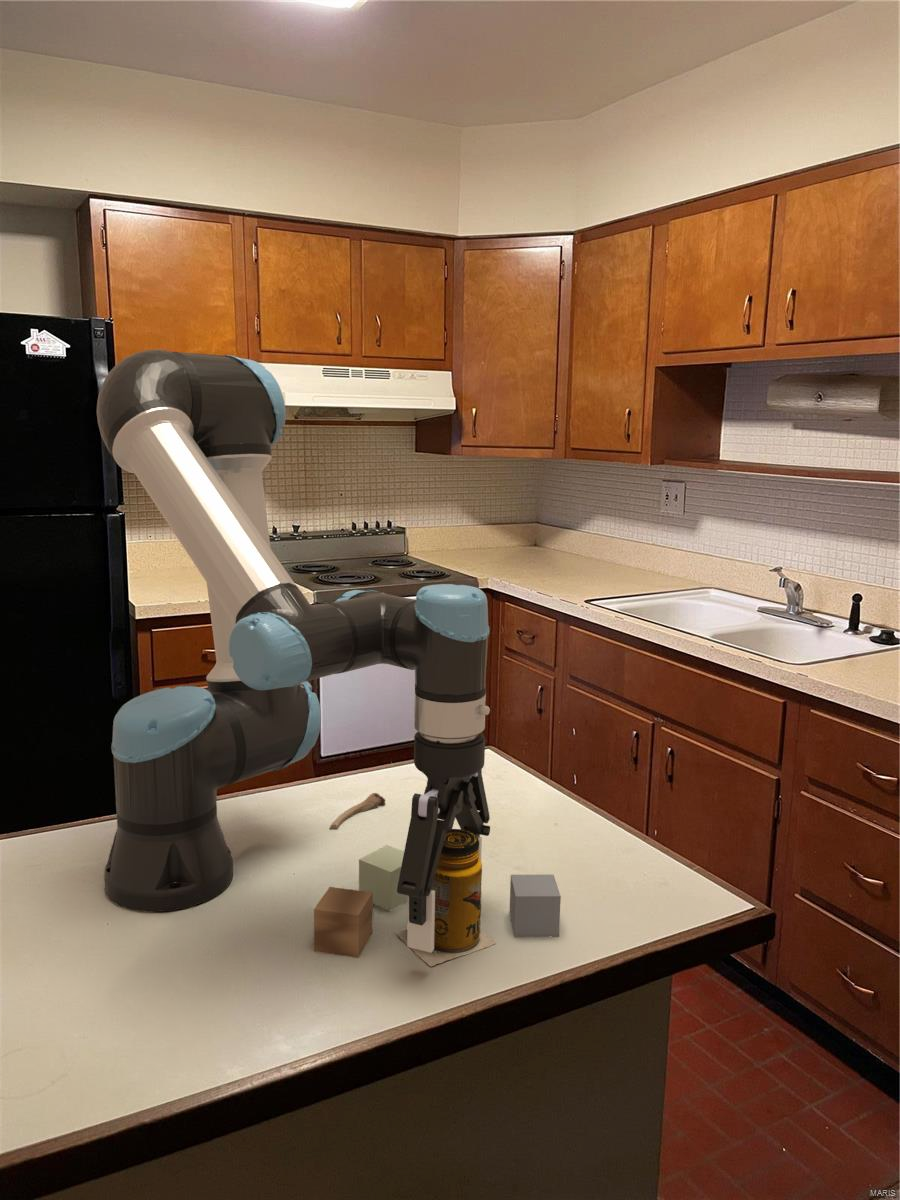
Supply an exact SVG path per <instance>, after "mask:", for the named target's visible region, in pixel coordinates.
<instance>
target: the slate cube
mask: <svg viewBox="0 0 900 1200" xmlns="http://www.w3.org/2000/svg"><path fill="white" fill-rule="evenodd" d="M554 875H555V874H510V885H509V886H510V887H509V888H510V889H509V912H508V913H510V914H509V918H511V919H510V922H511V923H512V924H511V923H510V924H511V928H512V933H513V937H514V938H550V937H549V936H552V937H551V938H559V937H560V921H561V917H560V916H561V900H562V899H561V898H562V897H561V896H562V895H561V893H560V889H559V886H558V884H557V880H556V878H555V876H554Z"/></svg>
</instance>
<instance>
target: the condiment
mask: <svg viewBox="0 0 900 1200" xmlns="http://www.w3.org/2000/svg"><path fill="white" fill-rule="evenodd" d="M482 868H483V863H482V859H481V860H480V858H479V840H478V837H477V836H476V835H475V834H473V833H472V832H469V831H466V830H462V829H461V828H458V829H457V828H452V830H451V831H449V832H447V833H446V836H445V840H444V844H443V847H442V851H441V855H440V858H439V862H438V866H437V870H436V873H435V877H434V881H433V884H432V888H431V890H434V891H435V926H434V950H433V951H432V952H431V953H430V952H426V951H422V950H418V949H414V948H410V949H411V950H412V952H414V953H415V955H417V956H418V957H420V959H421V960H422V961H423V962H425V963H426V964H427V965H428V966H429V967H433V966H436V965H438V964H442V963H444V962H447V961H451V960H453V959H456V958H458V957H462V956H465V955H469V954H472V953H474V952H477V951H480V950H483V949H485V948H488V947H491V946H493V945H495V944H496V942H495V941H494V940H493V939H491V937H489V936H488V935H486V934H484V933H483V932H482V931H481V917H482V915H481V911H482V901H481V900H482V878H483V877H482V876H483V869H482ZM395 934H396V935H397V936H398V937H399V938H400V940H401V941H402V942H403V943H405V945H407V929H403V930H400V931H397V932H396V933H395Z"/></svg>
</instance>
